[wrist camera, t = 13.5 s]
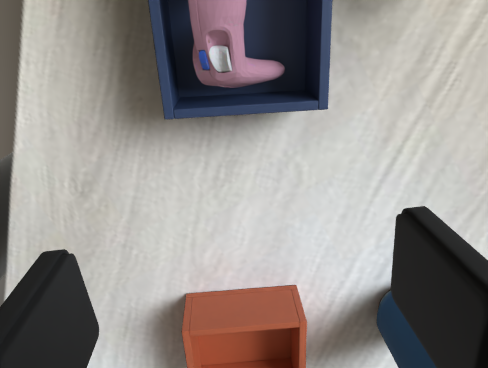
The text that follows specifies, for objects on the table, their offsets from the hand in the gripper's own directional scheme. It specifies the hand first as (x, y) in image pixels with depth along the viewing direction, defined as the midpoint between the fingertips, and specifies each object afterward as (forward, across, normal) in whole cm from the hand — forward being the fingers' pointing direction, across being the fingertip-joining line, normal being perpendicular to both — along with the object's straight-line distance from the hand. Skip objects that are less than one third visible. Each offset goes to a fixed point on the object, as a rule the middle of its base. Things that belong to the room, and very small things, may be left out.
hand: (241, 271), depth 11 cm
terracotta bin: (+18, +1, +20) cm, 28 cm away
